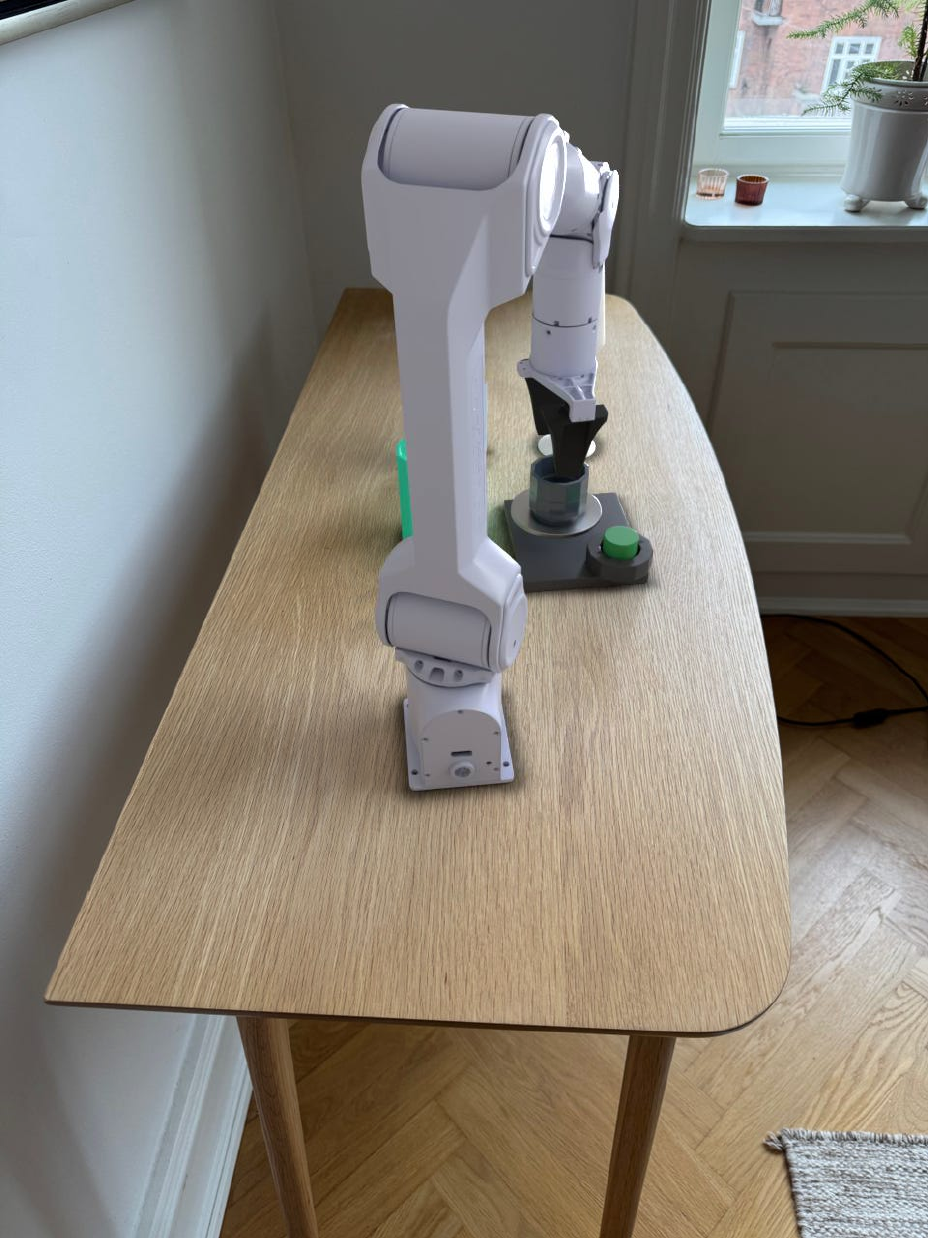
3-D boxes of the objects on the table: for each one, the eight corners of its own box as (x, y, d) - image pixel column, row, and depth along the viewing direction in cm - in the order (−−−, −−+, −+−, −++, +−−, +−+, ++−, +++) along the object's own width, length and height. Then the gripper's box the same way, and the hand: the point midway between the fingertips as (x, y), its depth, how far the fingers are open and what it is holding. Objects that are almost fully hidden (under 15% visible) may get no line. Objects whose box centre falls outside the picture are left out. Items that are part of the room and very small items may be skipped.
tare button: (640, 559, 86) (642, 544, 85) (606, 561, 86) (608, 546, 84) (632, 539, 88) (634, 524, 87) (599, 541, 88) (601, 526, 87)
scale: (656, 589, 87) (660, 564, 85) (524, 599, 86) (525, 574, 84) (620, 501, 98) (622, 477, 96) (503, 509, 97) (504, 485, 95)
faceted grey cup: (585, 493, 93) (588, 454, 90) (585, 525, 89) (589, 486, 86) (530, 491, 93) (531, 452, 90) (527, 523, 89) (529, 483, 86)
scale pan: (610, 535, 88) (610, 531, 88) (517, 542, 88) (518, 537, 87) (591, 484, 95) (591, 480, 95) (505, 490, 94) (505, 486, 94)
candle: (454, 557, 90) (450, 451, 83) (395, 551, 91) (386, 445, 84) (466, 523, 95) (464, 419, 87) (410, 517, 96) (403, 414, 88)
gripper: (502, 285, 83) (500, 420, 91) (539, 354, 72) (533, 499, 81) (577, 278, 83) (569, 413, 92) (626, 346, 73) (610, 490, 82)
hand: (557, 453), depth 87 cm, fingers open, 7 cm apart
